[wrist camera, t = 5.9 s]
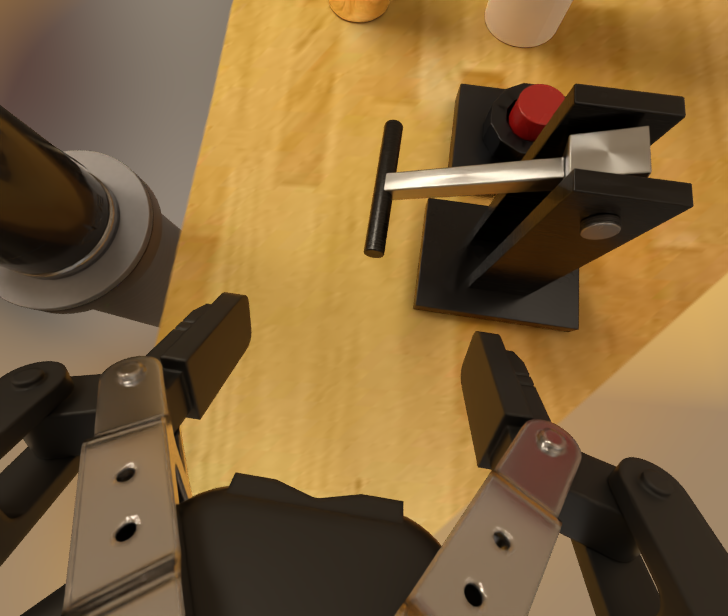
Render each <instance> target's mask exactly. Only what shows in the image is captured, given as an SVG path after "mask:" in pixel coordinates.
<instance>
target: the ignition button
mask: <svg viewBox="0 0 728 616" xmlns="http://www.w3.org/2000/svg"><path fill="white" fill-rule="evenodd" d="M564 99H565V97H564V96H563V94H562V93H561V92H560V91H559V90H557V89H556V88H554V87H552V86H549V85H545V84H536V85H531V86H529V87H527V88H526V89H524V90H523V91H522V92H521V94H520V95H519V97H518V99H517V101H516V103H515V105H514V106H513V108H512V110H511V112H510V114H509V126H510V128H511V130H512V131H513V133H514V134H516V135H517V136H519V137H521V138H522V139H524V140H526V141H533V142H534V141H535V140H536V139H537V137H538V136H539V134H540V133H541V131H542V130H543V129H544V127H545V126H546V124H547V123H548V122H549V120H550V119H551V117H552V116H553V114H554V113H555V112H556V110H557V109H558V107H559V106H560V105H561V103H562V102H563V100H564Z"/></svg>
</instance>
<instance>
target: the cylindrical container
mask: <svg viewBox="0 0 728 616" xmlns="http://www.w3.org/2000/svg"><path fill="white" fill-rule="evenodd" d="M572 1H573V0H489V1H488V4H487V7H486V10H485V22H486V25H487V27H488V29H489V30H490V32H491V33H492V34H493V35H494V36H495V37H496V38H497V39H499V40H501V41H502V42H504V43H506V44H509V45H512V46H517V47H534V46H538V45H541V44H543V43H545V42H547V41H548V40H549V39H551V38H552V36H553V35H554V34H555V32H556V31H557V29H558V27H559V25H560V23H561V21H562V20H563V18H564V16H565V14H566V12H567V10H568V9H569V7H570V5H571V3H572Z"/></svg>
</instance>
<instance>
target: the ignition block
mask: <svg viewBox="0 0 728 616" xmlns="http://www.w3.org/2000/svg"><path fill="white" fill-rule="evenodd" d="M531 85H536V84H527V83H523V84H520V85H517V86H514V87H511V88H508V89H500V88H492V87H484V86H476V85H468V84H461V85H460V87H459V91H458V94H457V97H456V100H455V109H454V119H453V128H452V137H451V146H450V155H449V164H448V168H450V167H460V166H471V165H482V164H493V163H503V162H514V161H521V160H522V158H523V157H524V156H525V154H526V153H527V151H528V150H529V149H530V147H531V146H532V144H533V143H534V142H533V141H526V140H524V139H522V138H521V137H519V136H517V135H516V134H514V133H513V131H512V130H511V128H510V126H509V114H510V112H511V110H512V108H513V106H514V105H515V103H516V101H517V99H518V97H519V95H520V94H521V92H522V91H523V90H524V89H526V88H527V87H529V86H531ZM564 97H565V96H564Z"/></svg>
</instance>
